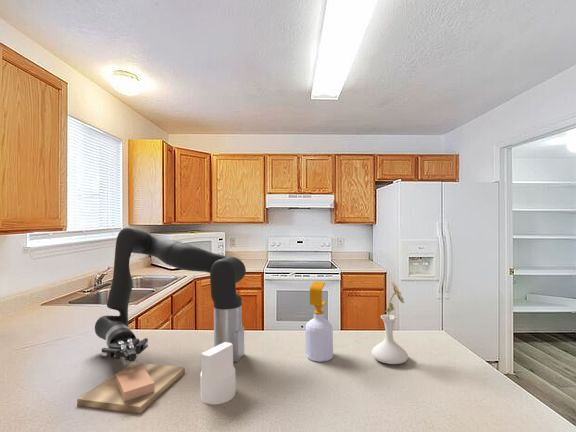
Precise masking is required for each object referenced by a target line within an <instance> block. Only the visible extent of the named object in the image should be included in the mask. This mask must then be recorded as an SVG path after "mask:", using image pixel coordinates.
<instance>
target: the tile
mask: <svg viewBox="0 0 576 432" xmlns="http://www.w3.org/2000/svg"><path fill="white" fill-rule="evenodd" d="M115 374H116V384H117V386H118V388H119V391H120V393H121V395H122V398H123V400H124V402H127V401H130V400H133V399H136V398H139V397H142V396H145V395H148V394H151V393H154V381H153V380H152V378H151V377H150V375H149V374H148V372H147V371H146V369H145V368H144V366H141V367H137V368H134V369H130V370H127V371H123V372H120V373H118V372H116V373H115Z"/></svg>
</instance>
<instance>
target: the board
mask: <svg viewBox="0 0 576 432" xmlns="http://www.w3.org/2000/svg"><path fill="white" fill-rule="evenodd" d="M141 366H144V368H145V369H146V371H147V372H148V374H149V375H150V377H151V378H152V380H153V381H154V393H151V394H148V395H145V396H142V397H139V398H136V399H133V400H130V401H127V402H124V400H123V398H122V395H121V393H120V391H119V388H118V386H117V384H116V373H115V374H113V375H111V376H110V377H108V378H107V379H106V380H104V381H103V382H101V383H100V384H99V383H98V385H96V386H95V387H93V388H92V389H90V390H88V391H87V392H86V393H84V394H83V395H81V396H79V397H78V398H77V399H76V400H77V401H76V405H77V406H80V407H85V408H94V409H102V410H111V411H116V412H124V413H125V412H126V413H134V414H141V413H143V411H145V410H146V409H147V408H148V407H149V406H150V405H151V404H152V403H153V402H155V401H156V399H158V398H159V397H160V396H161V395H162V394H163V393H164V392H165V391H166V390H167V389H169V388H170V387H171V386H172V385H173V384H174V383H176V382H177V380H178V379H180V378H181V377H182V376H183V375H184V374H185V373H186V367H185V366H177V365H164V364H154V363H153V364H152V363H144V362H143V363H141V362H132V363H130V364H128V365H127V366H125V367H123V369H121V370H119V371H118V372H117V373H120V372H123V371H127V370H130V369H134V368H137V367H141Z"/></svg>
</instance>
